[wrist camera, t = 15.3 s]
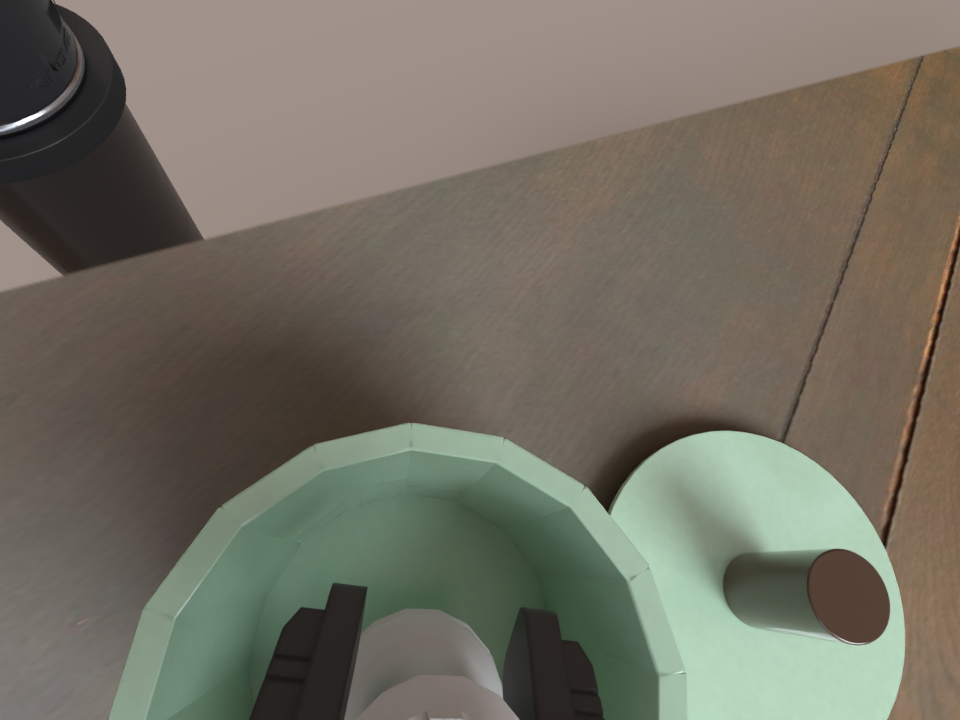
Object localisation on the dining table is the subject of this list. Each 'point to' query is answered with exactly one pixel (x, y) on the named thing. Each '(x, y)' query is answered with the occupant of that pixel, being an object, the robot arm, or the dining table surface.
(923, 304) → the dining table surface
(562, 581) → the jar
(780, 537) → the jar lid
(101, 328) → the dining table surface
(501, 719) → the rook chess piece
